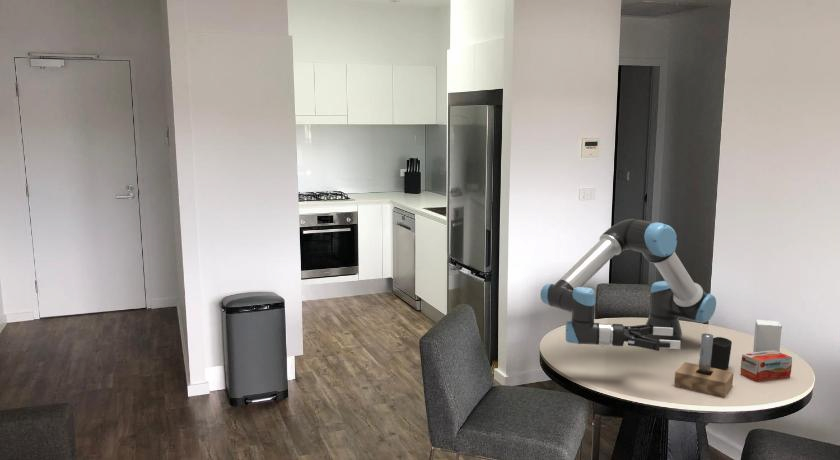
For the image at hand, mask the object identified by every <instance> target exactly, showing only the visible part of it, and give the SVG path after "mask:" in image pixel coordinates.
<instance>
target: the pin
mask: <svg viewBox="0 0 840 460" xmlns="http://www.w3.org/2000/svg"><path fill="white" fill-rule="evenodd" d="M713 338H714V335H713V334H710V333H701V338H700V347H699V348H700V349H699V362H698V365H699V372H698V373H700V374H704V375H709V376H710V367H711V356H712V345H713Z"/></svg>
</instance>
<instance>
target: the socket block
mask: <svg viewBox="0 0 840 460" xmlns="http://www.w3.org/2000/svg"><path fill="white" fill-rule="evenodd" d="M698 372H699V364H698V363H697V364H696V363H691V362H687V361H684V362H683V363H682V364H681V365H680V366H679V367H678V368H677V369H676V371H675V372H674V384H673V386H674V387H677V388H681V389H686V390H690V391H694V392H698V393H702V394H703V393H704V394H708V395H711V396H716V397H719V398H720V397H721V398H726V396H727V394H728V393H729V391H730V390H731V389H732V387H733V382H734V371H730V370H727V369H726V370H721V369H716V368H711V367H710V376H709V375H704V374H700V373H698Z"/></svg>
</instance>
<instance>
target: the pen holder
mask: <svg viewBox="0 0 840 460" xmlns="http://www.w3.org/2000/svg"><path fill="white" fill-rule="evenodd" d="M732 343H733V341H732V340H730V339H729V338H726V337H722V336H715V337H713V345H712V356H711V368H716V369H721V370H726V371H727V370H728V369H729V366H730V365H729V364H730V359H731V351H732Z"/></svg>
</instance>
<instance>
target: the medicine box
mask: <svg viewBox="0 0 840 460" xmlns="http://www.w3.org/2000/svg"><path fill="white" fill-rule="evenodd" d="M792 366H793V357H792V356H790V355H788V354H785V353H782V352H778V351H775V350H770V351H762V352H746V353H741V360H740V375H741V376H742V377H746V378H748V379H750V380H752V381H754V382H756V383H759V382H768V381H775V380H783V379H790V378H791V373H792Z"/></svg>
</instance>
